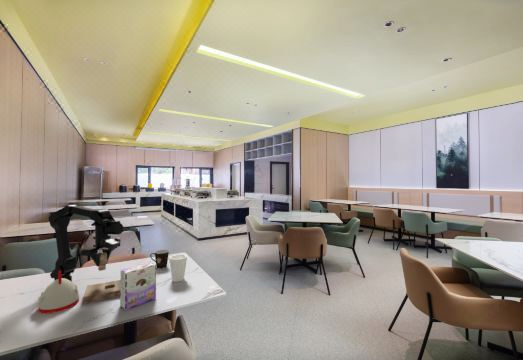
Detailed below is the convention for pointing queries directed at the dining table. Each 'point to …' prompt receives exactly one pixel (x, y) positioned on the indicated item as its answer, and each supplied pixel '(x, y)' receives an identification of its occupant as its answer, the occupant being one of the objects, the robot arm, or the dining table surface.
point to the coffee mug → (161, 258)
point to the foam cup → (178, 267)
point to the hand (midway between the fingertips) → (102, 264)
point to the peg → (102, 261)
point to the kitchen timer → (58, 296)
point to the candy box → (137, 285)
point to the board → (102, 291)
